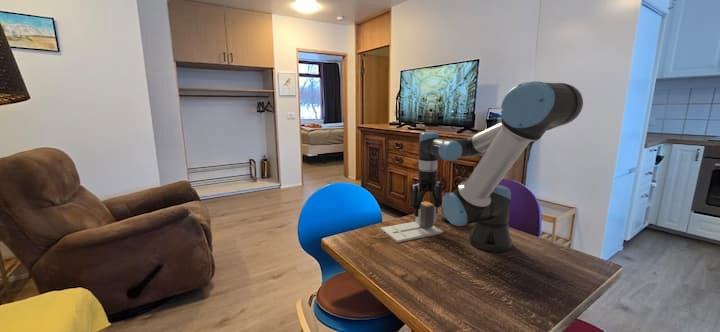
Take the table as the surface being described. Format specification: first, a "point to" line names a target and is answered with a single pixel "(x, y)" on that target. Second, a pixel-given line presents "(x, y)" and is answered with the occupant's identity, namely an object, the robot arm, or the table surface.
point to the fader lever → (426, 214)
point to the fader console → (409, 231)
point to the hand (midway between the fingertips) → (425, 222)
